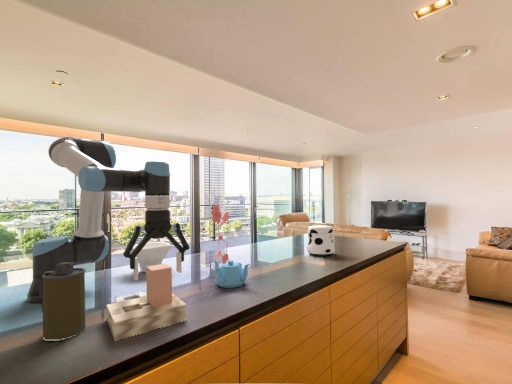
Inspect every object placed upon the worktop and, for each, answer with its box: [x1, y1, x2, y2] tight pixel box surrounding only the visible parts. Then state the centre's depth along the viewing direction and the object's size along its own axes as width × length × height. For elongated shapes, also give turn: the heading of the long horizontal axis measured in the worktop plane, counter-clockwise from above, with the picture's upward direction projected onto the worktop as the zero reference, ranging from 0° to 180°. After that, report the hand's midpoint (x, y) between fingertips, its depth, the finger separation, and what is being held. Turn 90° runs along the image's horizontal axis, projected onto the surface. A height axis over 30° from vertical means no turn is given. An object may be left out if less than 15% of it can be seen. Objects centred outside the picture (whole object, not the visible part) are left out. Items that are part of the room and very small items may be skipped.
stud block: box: [145, 263, 173, 307], centre depth 89 cm, size 6×7×14 cm
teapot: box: [212, 258, 251, 289], centre depth 121 cm, size 15×15×10 cm
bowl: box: [131, 241, 172, 273], centre depth 147 cm, size 19×19×14 cm
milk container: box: [306, 224, 336, 257], centre depth 178 cm, size 17×17×18 cm
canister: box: [41, 262, 87, 339], centre depth 80 cm, size 11×10×20 cm
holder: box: [114, 291, 147, 303], centre depth 98 cm, size 10×10×3 cm
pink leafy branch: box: [207, 203, 231, 268], centre depth 161 cm, size 15×26×35 cm, turn 32°
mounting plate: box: [106, 292, 188, 342], centre depth 86 cm, size 20×16×5 cm
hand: (158, 275), depth 89 cm, fingers open, 13 cm apart
